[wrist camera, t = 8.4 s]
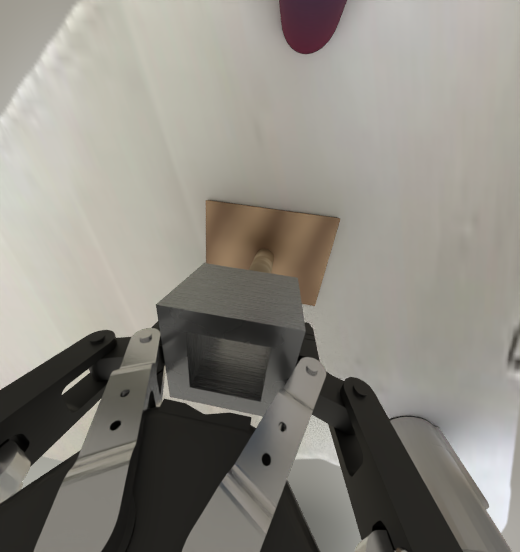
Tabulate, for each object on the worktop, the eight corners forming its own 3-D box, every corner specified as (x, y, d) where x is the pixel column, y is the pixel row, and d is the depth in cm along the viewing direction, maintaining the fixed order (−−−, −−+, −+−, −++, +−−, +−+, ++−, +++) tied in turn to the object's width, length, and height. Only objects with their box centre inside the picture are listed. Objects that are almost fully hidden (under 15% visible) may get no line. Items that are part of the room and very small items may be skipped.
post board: (338, 218, 22) (359, 227, 15) (313, 302, 27) (322, 335, 21) (209, 200, 23) (179, 202, 17) (209, 284, 28) (186, 310, 22)
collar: (297, 277, 12) (305, 330, 7) (281, 348, 14) (280, 419, 10) (204, 263, 12) (156, 304, 8) (205, 334, 15) (170, 396, 10)
